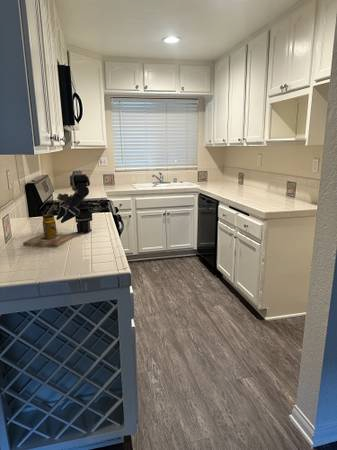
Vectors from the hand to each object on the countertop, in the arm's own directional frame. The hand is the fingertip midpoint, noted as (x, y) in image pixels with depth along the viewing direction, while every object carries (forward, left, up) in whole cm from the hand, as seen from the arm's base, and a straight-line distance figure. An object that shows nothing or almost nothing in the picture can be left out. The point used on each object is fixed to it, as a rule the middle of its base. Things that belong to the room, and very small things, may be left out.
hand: (58, 221), depth 158 cm
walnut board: (+4, +4, -10) cm, 11 cm away
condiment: (+4, +4, -8) cm, 10 cm away
